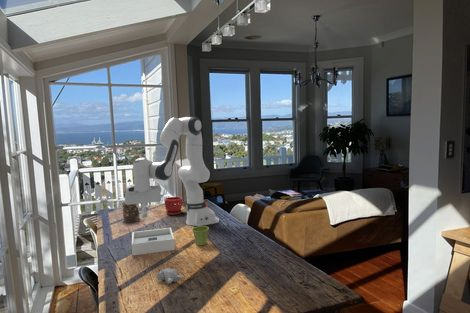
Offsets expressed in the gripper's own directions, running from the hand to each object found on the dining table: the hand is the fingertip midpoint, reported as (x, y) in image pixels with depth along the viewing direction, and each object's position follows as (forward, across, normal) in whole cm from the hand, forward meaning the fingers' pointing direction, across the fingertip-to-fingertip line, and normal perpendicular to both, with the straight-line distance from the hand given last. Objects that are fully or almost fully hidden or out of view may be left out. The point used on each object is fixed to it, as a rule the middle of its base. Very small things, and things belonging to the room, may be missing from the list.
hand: (144, 210), depth 201 cm
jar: (+19, +10, -56) cm, 60 cm away
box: (+19, -4, +7) cm, 20 cm away
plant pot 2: (+19, -30, +14) cm, 38 cm away
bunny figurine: (+19, -10, +56) cm, 60 cm away
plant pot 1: (+20, -20, -61) cm, 68 cm away
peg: (+4, 0, 0) cm, 4 cm away
